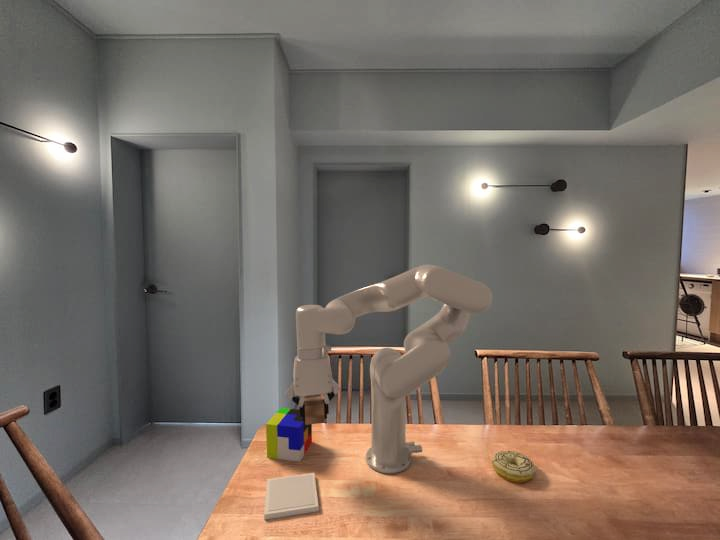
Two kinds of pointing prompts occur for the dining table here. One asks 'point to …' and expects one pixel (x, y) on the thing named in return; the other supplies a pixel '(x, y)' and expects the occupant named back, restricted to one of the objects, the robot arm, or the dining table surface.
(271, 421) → the puzzle toy
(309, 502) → the plate
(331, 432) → the dining table surface
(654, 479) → the dining table surface
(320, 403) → the walnut cube
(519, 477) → the decorated donut
